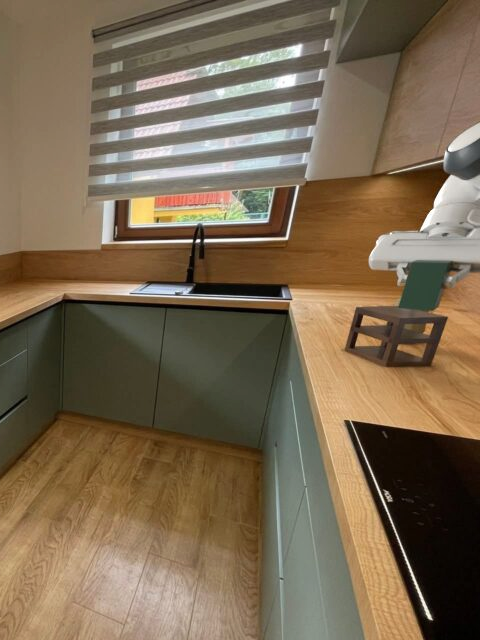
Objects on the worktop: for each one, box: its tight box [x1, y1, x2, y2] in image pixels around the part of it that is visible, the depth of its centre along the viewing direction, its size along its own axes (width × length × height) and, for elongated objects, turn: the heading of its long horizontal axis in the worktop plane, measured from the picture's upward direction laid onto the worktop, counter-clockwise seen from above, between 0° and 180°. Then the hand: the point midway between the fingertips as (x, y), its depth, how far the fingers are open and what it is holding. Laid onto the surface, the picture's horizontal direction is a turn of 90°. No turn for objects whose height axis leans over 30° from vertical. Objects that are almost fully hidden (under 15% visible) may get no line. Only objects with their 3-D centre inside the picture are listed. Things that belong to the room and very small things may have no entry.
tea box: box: [398, 260, 453, 312], centre depth 84 cm, size 5×5×9 cm
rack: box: [344, 305, 449, 368], centre depth 107 cm, size 10×14×12 cm
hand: (424, 285), depth 84 cm, fingers closed on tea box, 5 cm apart
